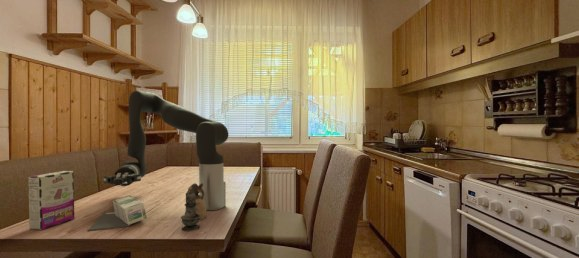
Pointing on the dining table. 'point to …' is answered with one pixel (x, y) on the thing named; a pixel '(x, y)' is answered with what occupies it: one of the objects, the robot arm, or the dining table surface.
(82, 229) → the dining table surface
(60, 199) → the candy bar box
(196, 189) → the figurine
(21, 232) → the dining table surface
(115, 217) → the mat
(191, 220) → the dark grey chess piece
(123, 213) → the syrup box
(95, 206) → the dining table surface
